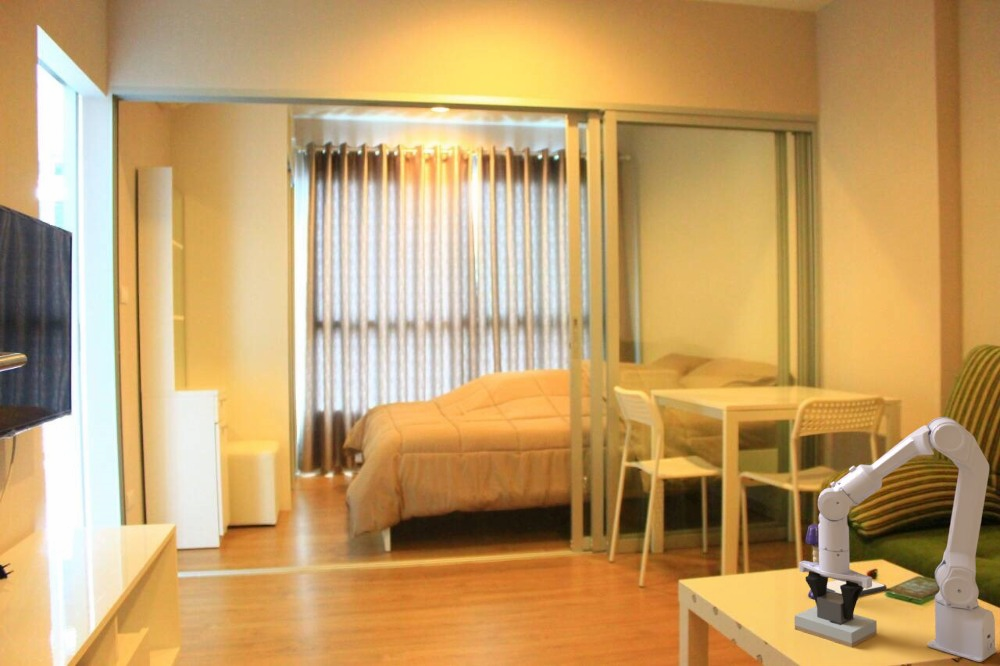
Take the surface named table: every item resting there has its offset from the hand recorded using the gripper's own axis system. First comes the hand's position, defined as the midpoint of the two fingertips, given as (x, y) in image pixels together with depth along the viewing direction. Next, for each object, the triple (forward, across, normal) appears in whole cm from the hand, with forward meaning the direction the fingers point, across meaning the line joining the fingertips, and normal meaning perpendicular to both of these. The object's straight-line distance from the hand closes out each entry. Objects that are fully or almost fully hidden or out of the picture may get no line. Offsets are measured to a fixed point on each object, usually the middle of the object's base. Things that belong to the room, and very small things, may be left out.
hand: (834, 614), depth 154 cm
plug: (+2, 0, 0) cm, 2 cm away
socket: (+3, 0, 0) cm, 3 cm away
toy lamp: (+4, +13, -16) cm, 21 cm away
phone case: (+4, +11, -27) cm, 30 cm away
